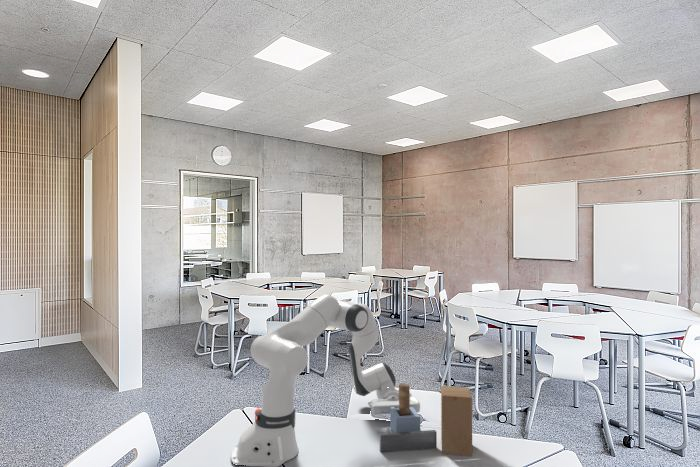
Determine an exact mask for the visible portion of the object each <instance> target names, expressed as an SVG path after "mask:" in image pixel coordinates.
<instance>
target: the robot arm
mask: <svg viewBox="0 0 700 467" xmlns="http://www.w3.org/2000/svg"><path fill="white" fill-rule="evenodd" d="M377 324H378V323H377V322H376V319H375V317H374V314H373V312H372V310H371V309H370V307H369V306H368V305H367V304H364V303H356V304H355V303H354V302H350V301H347V300H344V299H343V300H342V299H336V298H335V297H334V296H333V295H331V294H322V295H321V296H319V297H317V298H316V299H314V300H312V301H311V302H310V303H309V304H308V305H306V306H305V308H303V309H302V310H301V311H300V312H299V313H298V314H297V315H295V316H294V317H293V318H292V319H291V320H289V321H288V322H286V323H285V324H283V325H281V326H280V327H278V328H276V329H273V331H271V332H268V333H266V334H263V335H262V334H261V335H259V336H258V337H256V338H254V340H253V341H252V343H251V346H250V352H249V353H250V356H251V358H252V359H253V360H254V361H255V362H256V363H257V364H258V365H260V366H262V367H263V368H265V369H268V370H269V376H268V379H267V380H268V381H267V382H266V383H265V384H264V385H262V386H263V387H262V388H261V399H260V400H261V402H260V404H261V408H259V407H257V408H256V409H255V412H254V415H255V416H254V422H253V423H252V424H251V425H249V427H248V428H246V429H244V430H243V432H242V433H241V435H240V437H239V439H238V443H237V444H236V445H235V446H234V447H233V448H232V451H231V453H230V454H231V455H230V462H231V461H232V462H233V463H234V464H237V465H244V466H243V467H280V466H282V464H284V463H285V462H289V461H290V460H291V459H293V458H295V457H296V456H297V455H298V453H299V447H298V442H297V438H296V430H295V427H296V409H295V406H294V405H295V387H296V382H297V380H298V377H299V375H300V374H302V372H303V371H305V369H306V367H307V365H308V360H309V357H308V353H307V352H308V351H307V350H306V349H305V348H304V346H308V345H310V344H312V343H314V341H316V340H317V339H318V337H319V336H320V335H322V333H323V332H324V331H325V330H326V329H327V328H328V327H329V326H330V325H331V326H333V327H335V328H338V329H340V330H344V331H349V332H351V334H352V339H351V341H350V343H349V344H348V357H349V364H350V370H351V383H352V388H353V390H354V392H355V393H356V395H359V396H362V397H365V396H367V395H369V394H371V393H373V392H375V394H376V397H377V398H376V399H371V401H368V403H367V404H368V407H370V412H371V414H372V415H390V408H399V389H396V382H397V381H396V380H397V379H396V376H395V374H394V372H393V370H392V369H391V367H390V366H389V365H388V364H387V363H385V362H380V363H378V364H375V365H372V366H371V367H369V368H366V369H364V370H362V366H361V359H362V358H363V356H364V355H366V353H367V352H369V351H370V350H372V349H373V347H375V345H376V344H377V342H378V340H379V337H380V333H379V327H378V325H377ZM354 386H355V387H354ZM387 387H389V388H387ZM410 407H413V408H414V409H415V410H416V412H417V413H419V412H421V403H420V401H419V400H418V399H417V398H416V397H415V396H413V395H412V392H410ZM232 462H231V463H232ZM245 465H246V466H245Z"/></svg>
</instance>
